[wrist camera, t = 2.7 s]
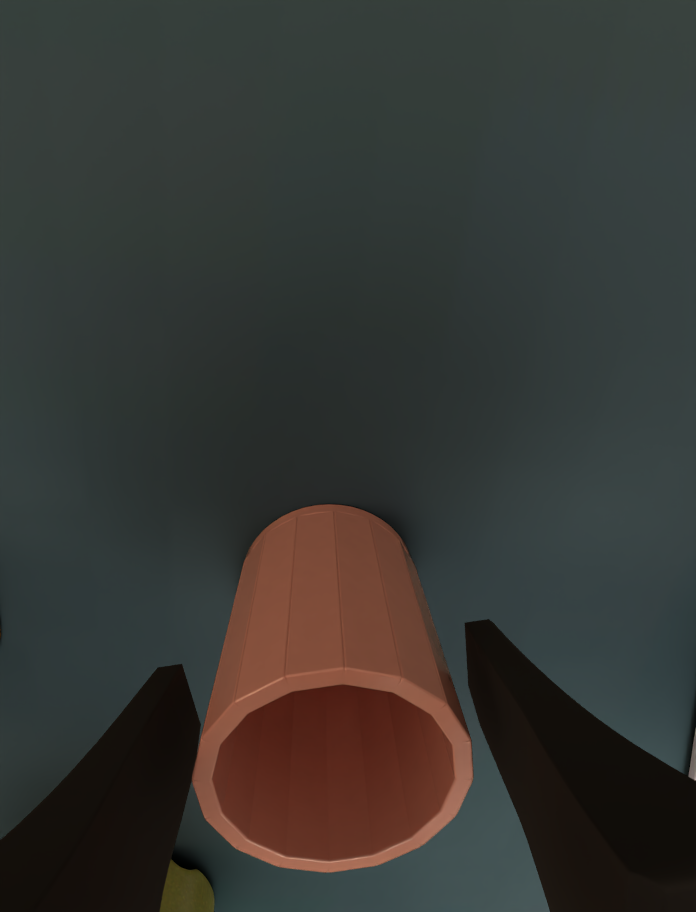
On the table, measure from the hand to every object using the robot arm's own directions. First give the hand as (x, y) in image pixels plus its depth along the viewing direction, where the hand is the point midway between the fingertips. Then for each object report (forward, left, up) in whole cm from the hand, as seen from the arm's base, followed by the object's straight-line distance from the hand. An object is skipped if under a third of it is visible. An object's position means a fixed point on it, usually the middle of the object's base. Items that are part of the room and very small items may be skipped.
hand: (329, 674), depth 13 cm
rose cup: (0, 0, -4) cm, 4 cm away
